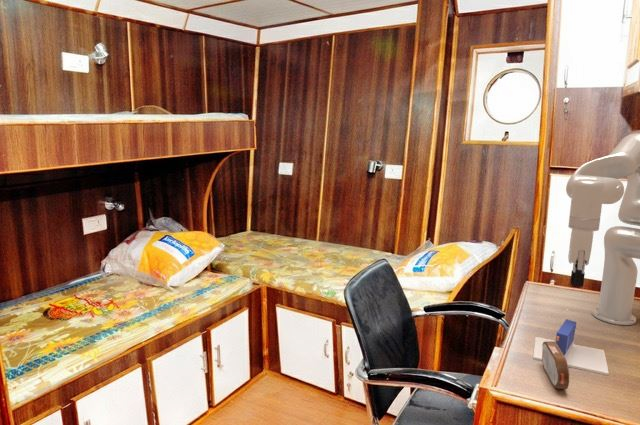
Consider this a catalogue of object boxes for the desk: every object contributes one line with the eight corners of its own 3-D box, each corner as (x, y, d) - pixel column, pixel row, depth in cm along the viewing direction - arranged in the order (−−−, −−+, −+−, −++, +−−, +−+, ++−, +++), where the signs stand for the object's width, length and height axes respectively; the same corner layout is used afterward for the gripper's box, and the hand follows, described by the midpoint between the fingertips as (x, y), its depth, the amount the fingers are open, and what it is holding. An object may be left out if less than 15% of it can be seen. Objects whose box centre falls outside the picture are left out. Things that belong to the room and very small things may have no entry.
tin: (568, 396, 110) (572, 364, 109) (554, 394, 111) (558, 362, 109) (550, 364, 125) (554, 336, 123) (538, 363, 126) (541, 334, 124)
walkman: (566, 319, 134) (556, 333, 125) (576, 321, 132) (567, 336, 123) (562, 343, 135) (552, 359, 126) (572, 346, 134) (563, 362, 125)
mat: (535, 338, 140) (535, 336, 140) (603, 352, 132) (604, 350, 132) (533, 359, 128) (533, 357, 128) (608, 375, 120) (608, 373, 120)
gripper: (568, 217, 136) (561, 275, 140) (569, 227, 123) (562, 291, 127) (597, 219, 133) (590, 279, 137) (601, 230, 120) (593, 296, 124)
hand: (576, 284), depth 132 cm, fingers closed
